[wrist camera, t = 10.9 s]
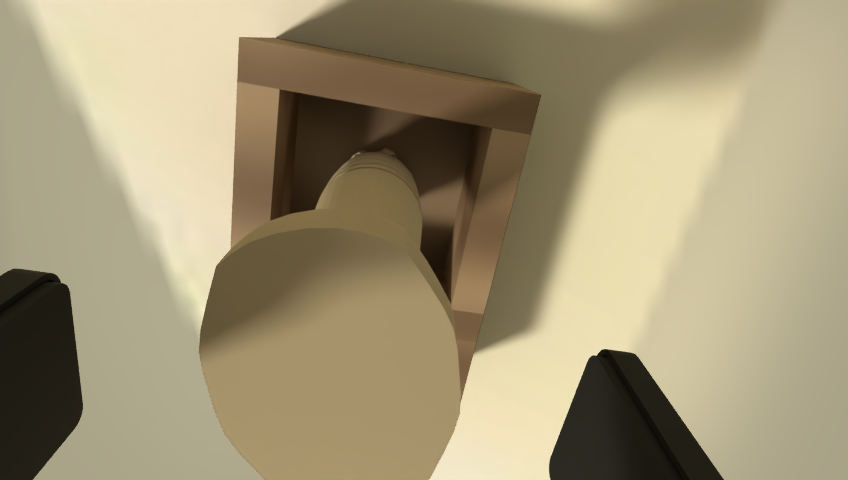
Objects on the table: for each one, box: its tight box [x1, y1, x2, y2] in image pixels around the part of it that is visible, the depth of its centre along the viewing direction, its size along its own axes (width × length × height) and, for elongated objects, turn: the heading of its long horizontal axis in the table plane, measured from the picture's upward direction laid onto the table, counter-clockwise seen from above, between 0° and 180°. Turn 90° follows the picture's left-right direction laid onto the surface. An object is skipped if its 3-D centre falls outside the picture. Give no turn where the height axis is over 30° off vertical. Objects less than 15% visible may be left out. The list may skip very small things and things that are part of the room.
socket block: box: [231, 37, 541, 403], centre depth 23 cm, size 16×11×5 cm
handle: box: [199, 148, 461, 480], centre depth 16 cm, size 5×6×15 cm
